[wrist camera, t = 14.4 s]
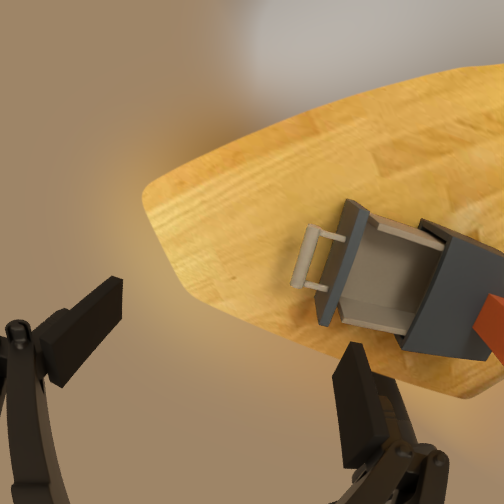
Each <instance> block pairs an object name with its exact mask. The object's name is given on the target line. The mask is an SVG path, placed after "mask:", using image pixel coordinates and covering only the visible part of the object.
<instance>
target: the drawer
mask: <svg viewBox="0 0 504 504" xmlns="http://www.w3.org/2000/svg"><path fill="white" fill-rule="evenodd" d="M319 235H320V236H322V237H326V238H330V239H333V243H332V247H331V250H330V253H329V256H328V259H327V262H326V265H325V268H324V271H323V273H322V276H321V279H320V282H319V284H318V283H314V282H310V281H306V280H305V279H306V276H307V272H308V269H309V266H310V263H311V260H312V257H313V254H314V251H315V247H316V244H317V241H318V238H319ZM446 242H447V241H445V240H444V239H442V238H441V237H438V236H436V235H433V234H430V233H427V232H425V231H422V230H419V229H416V228H414V227H411V226H408V225H405V224H402V223H399V222H396V221H393V220H390V219H387V218H384V217H381V216H378V215H375V214H372V213H370V211H368V210H367V209H365V208H364V207H363V206H361V205H360V204H358V203H357V202H356V201H353V200H350V199H346V201H345V205H344V208H343V211H342V215H341V218H340V221H339V224H338V228H337V231H336V233H332V232H329V231H325V230H322V229H321V227H319V226H317V225H314V224H308V225H307V228H306V232H305V235H304V238H303V242H302V245H301V248H300V252H299V255H298V258H297V262H296V265H295V268H294V271H293V275H292V278H291V281H290V285H291V286H292V287H294V288H298V289H301V288H302V287H303V286H304V287H307V288H311V289H315V290H317V291H316V293H315V296H314V299H315V305H316V311H317V318H318V324H319V325H322V326H326V327H328V326H329V324H330V321H331V319H332V316H333V314H334V312H335V309H336V307H337V308H338V311H339V315H340V318H341V322H342V323H346V324H350V325H355V326H360V327H364V328H369V329H374V330H379V331H384V332H389V333H394V334H399V335H404V336H405V335H406V333H407V331H408V329H409V328H410V326H411V324H412V322H413V320H414V318H415V316H416V314H417V311H418V309H419V307H420V305H421V303H422V301H423V299H424V297H425V294H426V292H427V290H428V288H429V285H430V283H431V281H432V278H433V276H434V273H435V271H436V269H437V266H438V264H439V261H440V258H441V256H442V253H443V251H444V248H445V245H446Z"/></svg>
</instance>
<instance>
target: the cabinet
mask: <svg viewBox="0 0 504 504" xmlns="http://www.w3.org/2000/svg"><path fill="white" fill-rule="evenodd" d="M418 229H419V230H422V231H425V232H427V233H430V234H433V235H436V236H438V237H441V238H442V239H444V240H445V241H447V242H446V245H445V248H444V251H443V253H442V256H441V258H440V261H439V264H438V266H437V269H436V271H435V273H434V276H433V278H432V281H431V283H430V285H429V288H428V290H427V292H426V294H425V297H424V299H423V301H422V303H421V305H420V307H419V309H418V311H417V314H416V316H415V318H414V320H413V322H412V324H411V326H410V328H409V329H408V331H407V333H406V335H405V336H404V335H399V334H394V333H393V334H394V336H395V338H396V340H397V342H398V344H399V346H400V348H401V350H405V351H411V352H418V353H424V354H431V355H438V356H445V357H453V358H460V359H469V360H477V361H486V360H487V359H488V357H489V355H490V354H491V352H492V351H491V349H490V348H489V347H488V346H487V344H486V343H485V342H484V341H483V340H482V338H481V337H480V336H479V335H478V334H477V332H476V331H475V330H474V329H473V328H472V327H473V325H474V323H475V321H476V319H477V317H478V315H479V313H480V311H481V309H482V307H483V305H484V303H485V301H486V299H487V297H488V294H489V293H490V294H493V295H496V296H499V297H502V298H504V253H502V252H501V251H499V250H497V249H495V248H492V247H490V246H488V245H486V244H483V243H481V242H479V241H477V240H474V239H472V238H470V237H467V236H465V235H463V234H460V233H458V232H455V231H453V230H450V229H448V228H445V227H443V226H440V225H438V224H435V223H433V222H430V221H427V220H425V219H421V221H420V224H419V227H418Z"/></svg>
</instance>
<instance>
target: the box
mask: <svg viewBox="0 0 504 504" xmlns="http://www.w3.org/2000/svg"><path fill="white" fill-rule="evenodd" d="M472 328H473V329H474V330H475V331H476V332H477V334H478V335H479V336H480V337H481V338H482V340H483V341H484V342H485V343H486V344H487V346H488V347H489V348H490V349H491V351H492V352H493V353H494V354H495V356H496V357H497V358H498V359H499V361H500V362H501V363H502V365H503V366H504V298H502V297H499V296H496V295H493V294H490V293H489V294H488V297H487V299H486V301H485V303H484V305H483V307H482V309H481V311H480V313H479V315H478V317H477V319H476V321H475V323H474V325H473V327H472Z"/></svg>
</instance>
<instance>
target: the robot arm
mask: <svg viewBox="0 0 504 504" xmlns="http://www.w3.org/2000/svg"><path fill="white" fill-rule="evenodd" d="M122 289H123V279H120V278H117V277H114V276H111V277H110V278H109V279H107V280H106V281H104V282H103V283H102V284H101V285H99V286H98V287H97V288H96V289H95V290H93V291H92V292H91V293H90V294H89V295H87V296H86V297H85V298H84V299H83V300H81V301H80V302H79V303H78V304H76V305H75V306H74V307H73V308H72V309H71V310H68V309H66V308H63V309H61V310H58V311H56V312H55V313H53V314H52V315H51V316H50V318H47V319H46V320H45V322H43V323H41V324H40V325H39V326H38V327H37V328H36V329H34V330H33V331H32V332H31V328H30V324H29V323H28V322H27V321H24V320H13V321H11V322H9V323H8V324H7V325H6V327H5V331H6V335H7V338H6V337H2V336H0V415H1V411H2V406H3V402H4V399H5V395H6V394H7V397H6V398H7V399H6V400H7V401H6V402H7V426H8V439H9V448H10V456H11V464H12V470H13V475H14V484H13V485H12V486H11V493H12V498H13V502H14V504H70V502H69V499H68V496H67V493H66V490H65V486H64V483H63V479H62V476H61V472H60V468H59V464H58V461H57V456H56V452H55V447H54V442H53V438H52V432H51V427H50V421H49V414H48V407H47V400H46V392H45V382H44V377H45V375H46V374H47V373H48V376H49V380H50V382H52V383H54V384H55V385H57V386H59V387H61V388H63V387H64V386H65V384H66V383H67V382H68V381H69V380H70V378H71V377H72V376H73V375H74V373H75V372H76V371H77V370H78V369H79V368H80V366H81V365H82V364H83V362H85V360H86V359H87V358H88V357H89V356H90V355H91V353H92V352H93V351H94V350H95V349H96V348H97V346H98V345H99V344H100V343H101V342H102V341H103V339H104V338H105V337H106V336H107V335H108V334H109V333H110V332H111V330H112V329H113V328H114V327H115V326H116V325H117V324H118V323H119V321H120V320H121V319H122V291H123V290H122ZM332 380H333V387H334V394H335V400H336V408H337V416H338V423H339V431H340V440H341V448H342V458H343V467H344V468H345V469H346V468H347V469H359V468H360V467H361V466H362V465H363V464H364V463H365V466H366V470H365V471H363V472H362V473H361V474H360V475H359V476H358V477H357V478H356V479H355V480H356V481H355V482H354V483H353V485H352V486H351V487H350V488H349V489H348V490H347V491H346V493H345V494H344V495H343V496H342V497H341V498H340V499H339V500H338V501H335V502H332V503H329V504H444V501H445V494H446V488H447V481H448V473H449V458H448V456H447V455H446V454H445V453H444V452H442V451H441V450H432V451H431V452H430V453H429V454H428V455H424V454H420V453H417V452H414V449H413V447H412V446H411V445H410V444H409V443H408V442H406V441H404V440H403V439H402V435H401V432H400V429H399V425H398V422H397V419H396V416H395V413H394V409H393V406H392V403H391V402H390V401H389V399H388V398H387V397H386V396H382V395H378V392H377V388H376V385H375V382H374V378H373V375H372V372H371V369H370V366H369V363H368V360H367V357H366V353H365V350H364V347H363V344H361V343H356V342H351V341H350V343H349V345H348V347H347V349H346V351H345V353H344V355H343V357H342V358H341V360H340V362H339V364H338V366H337V368H336V370H335V372H334V374H333V375H332Z"/></svg>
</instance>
